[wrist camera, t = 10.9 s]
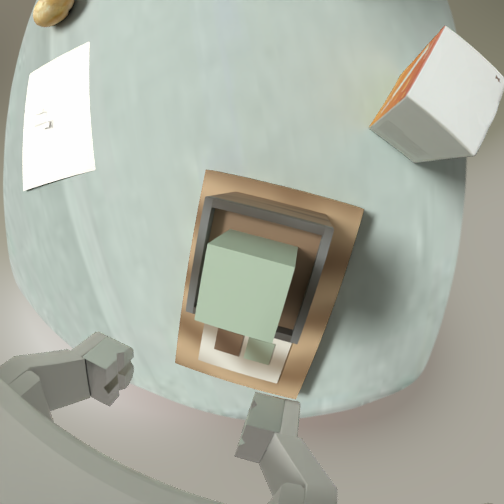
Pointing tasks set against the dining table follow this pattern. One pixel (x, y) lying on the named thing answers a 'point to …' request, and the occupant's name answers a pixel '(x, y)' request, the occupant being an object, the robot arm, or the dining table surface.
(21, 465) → the robot arm
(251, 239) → the sage block
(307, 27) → the dining table surface
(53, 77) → the paper sheet
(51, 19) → the onion
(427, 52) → the small box
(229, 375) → the oak base board
